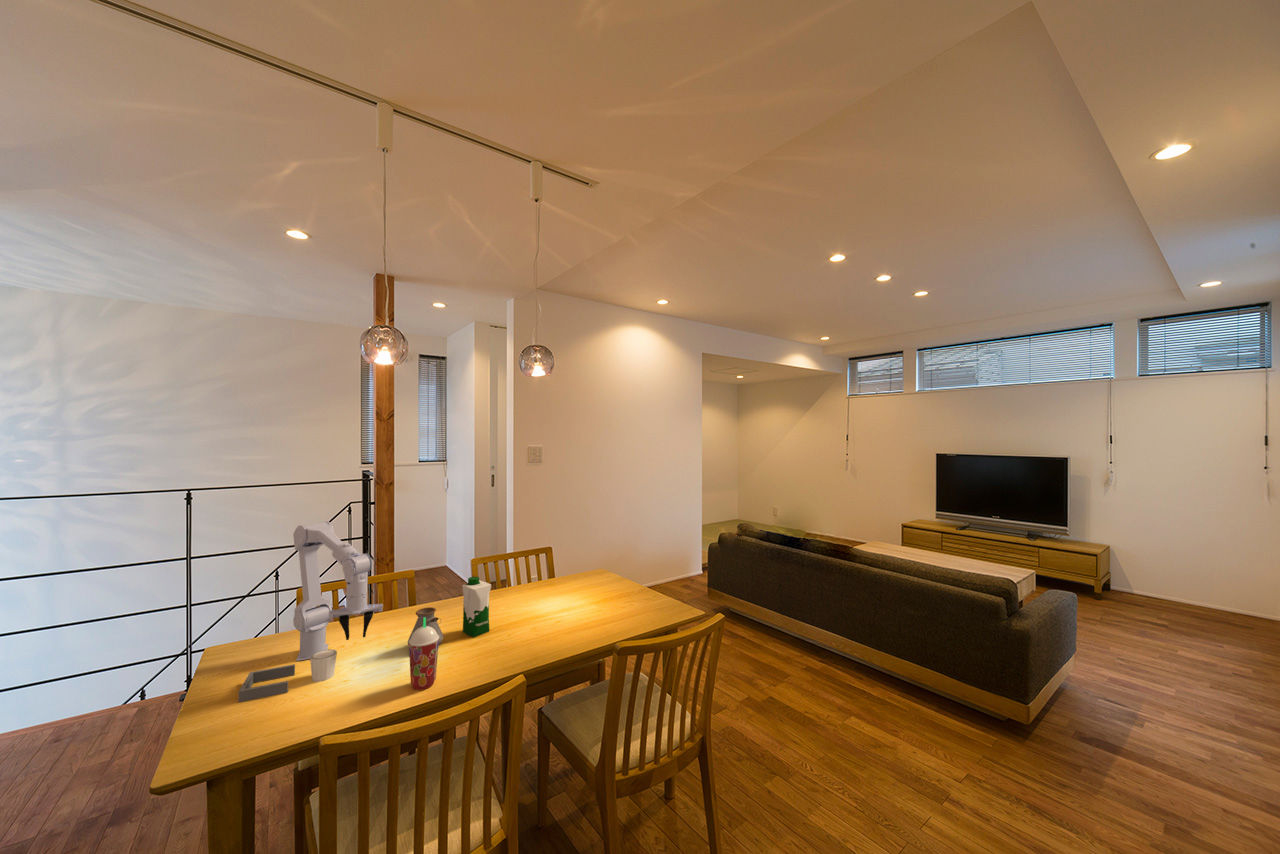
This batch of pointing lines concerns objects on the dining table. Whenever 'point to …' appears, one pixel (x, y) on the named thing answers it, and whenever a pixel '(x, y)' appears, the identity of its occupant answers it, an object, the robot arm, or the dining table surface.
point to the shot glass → (323, 664)
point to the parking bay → (265, 690)
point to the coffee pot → (427, 621)
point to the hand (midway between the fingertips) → (356, 637)
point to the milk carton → (476, 607)
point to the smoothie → (423, 656)
